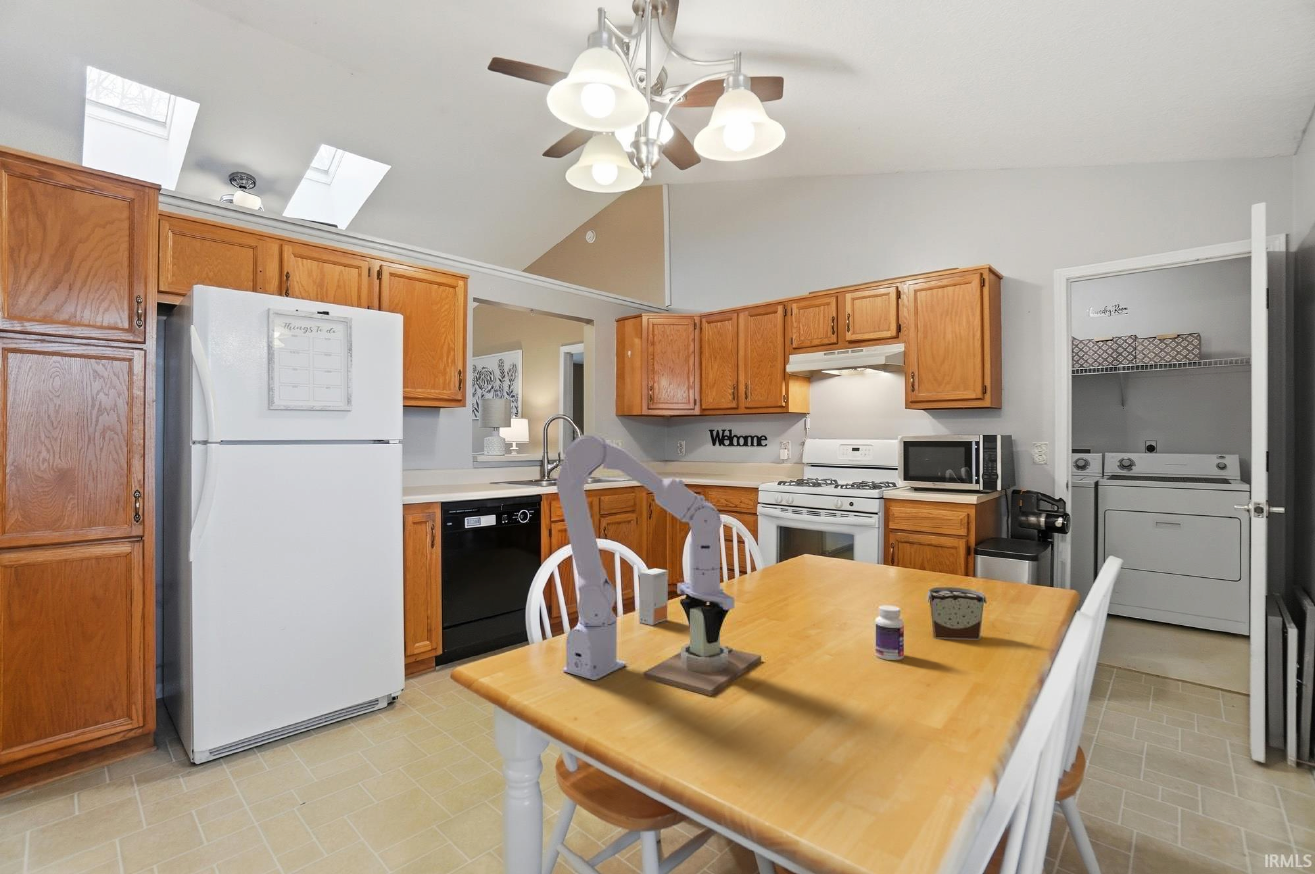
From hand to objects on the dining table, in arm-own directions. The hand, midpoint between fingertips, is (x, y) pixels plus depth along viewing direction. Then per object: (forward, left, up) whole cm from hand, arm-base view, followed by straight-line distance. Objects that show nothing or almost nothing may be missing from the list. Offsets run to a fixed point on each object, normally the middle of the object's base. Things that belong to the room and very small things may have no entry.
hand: (704, 639), depth 115 cm
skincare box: (+19, +25, -6) cm, 32 cm away
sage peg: (0, 0, -2) cm, 2 cm away
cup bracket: (0, 0, -6) cm, 6 cm away
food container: (+49, -35, -6) cm, 60 cm away
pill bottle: (+27, -27, -6) cm, 39 cm away
